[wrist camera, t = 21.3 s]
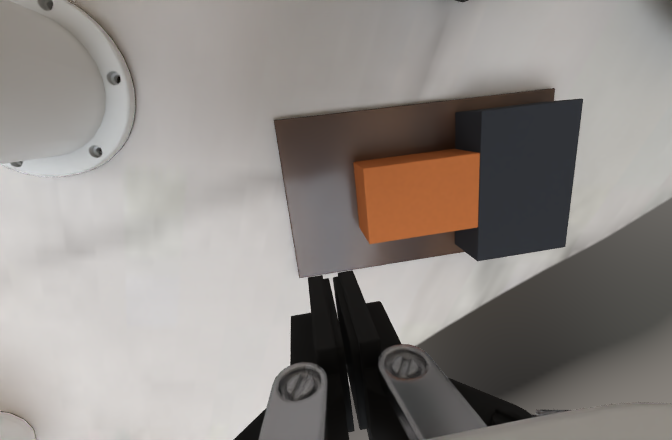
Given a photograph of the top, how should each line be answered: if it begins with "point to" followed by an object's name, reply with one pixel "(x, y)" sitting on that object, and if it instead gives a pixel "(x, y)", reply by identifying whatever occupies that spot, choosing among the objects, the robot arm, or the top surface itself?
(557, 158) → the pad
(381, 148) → the board
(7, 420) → the foam cup
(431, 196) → the loose pad
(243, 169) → the top surface
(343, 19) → the top surface
